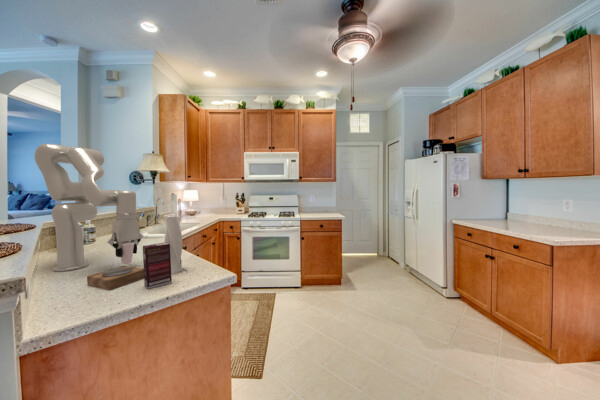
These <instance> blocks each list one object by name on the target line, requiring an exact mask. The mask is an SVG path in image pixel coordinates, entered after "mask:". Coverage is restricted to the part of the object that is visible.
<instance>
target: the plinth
mask: <svg viewBox="0 0 600 400" xmlns="http://www.w3.org/2000/svg"><path fill="white" fill-rule="evenodd" d="M86 278H87V279H86V281H87V287H88V286H89V287H95V288H99V289H103V290H108V291H113V290H115V289H117V288H120V287H121V288H122V287H123V286H126V285H129V284H132V283H134V282H138V281H141V280H144V268H141V267H135V266H128V265H122V266H119V267H115V268H112V269H108V270H104V271H101V272H97V273H95V274H91V275H87V276H86Z"/></svg>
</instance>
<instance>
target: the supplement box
mask: <svg viewBox="0 0 600 400" xmlns="http://www.w3.org/2000/svg"><path fill="white" fill-rule="evenodd" d="M142 256H143V257H142V258H143V260H142V261H143V263H142V264H143V269H144V279H143V282H144V287H145V288H146V289H147V290H149V289H154V288H157V287H161V286H165V285H169V284H172V279H173V278H172V274H171V257H170V244H169V243H167V242H165V241H164V242H159V243H153V244H146V245H142Z"/></svg>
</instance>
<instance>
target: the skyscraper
mask: <svg viewBox="0 0 600 400" xmlns="http://www.w3.org/2000/svg"><path fill="white" fill-rule="evenodd" d="M177 213H179V215H177ZM163 219H164V222H165V223H164V224H165V232H164V242H167V243H169V244H170V257H171V275H175V274H179V273H182V272H187V271H188V270H187V269H185V268H183V267H182V252H183V234H182V228H181V226H180V223H181V220H182V213H181V212H180V211H179V210H176V211H175V212H174V213H171V214H165V215H163Z"/></svg>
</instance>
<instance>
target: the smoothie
mask: <svg viewBox="0 0 600 400" xmlns="http://www.w3.org/2000/svg"><path fill="white" fill-rule="evenodd" d="M134 244H135V242H134V241H127V242H123V243H122V245H121V248H122V257H120V260H121V264H122V265H128V264H131V263H133V261H132V260H133V254H134V253H133V249H134Z"/></svg>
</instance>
